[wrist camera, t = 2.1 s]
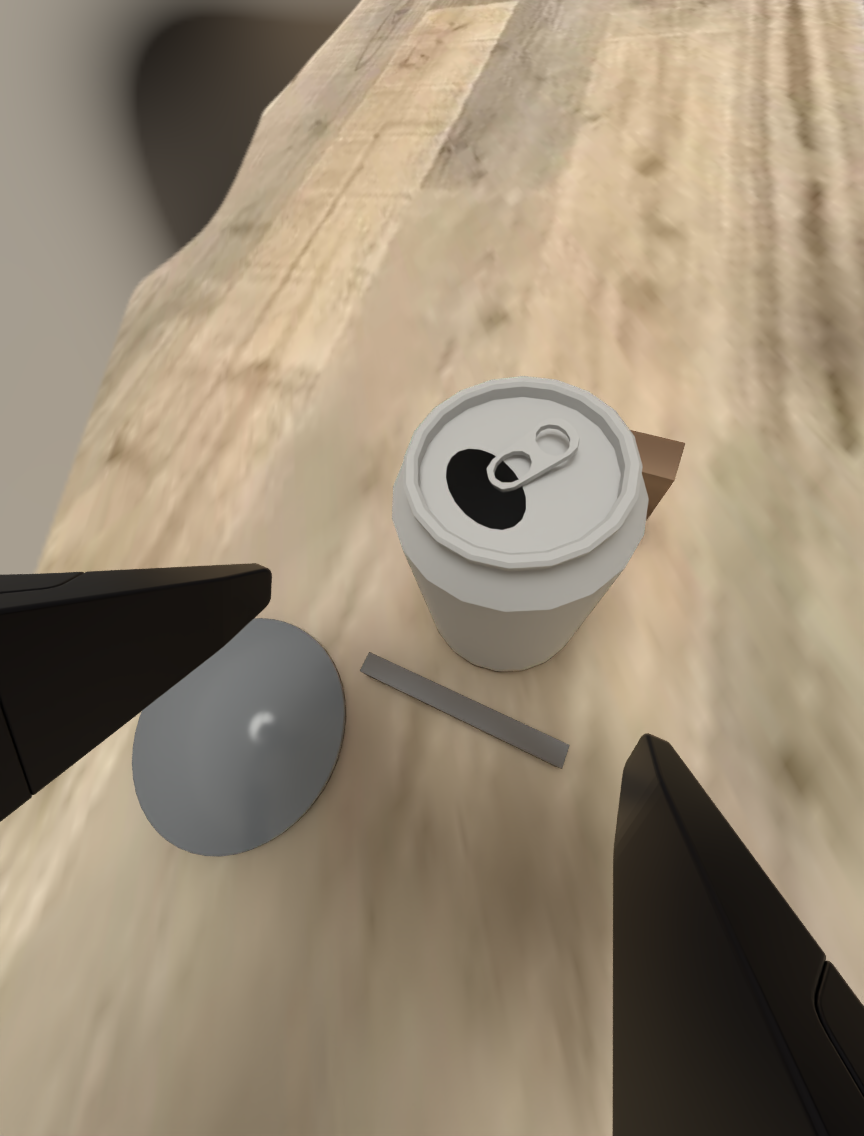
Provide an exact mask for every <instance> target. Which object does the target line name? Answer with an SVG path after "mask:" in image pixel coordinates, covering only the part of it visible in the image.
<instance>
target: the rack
mask: <svg viewBox="0 0 864 1136" xmlns="http://www.w3.org/2000/svg"><path fill="white" fill-rule="evenodd" d="M630 431H631V432H632V433H633V435H634V437H635V440H636V444H637V447H638V451H639V455H640V458H641V462H642V466H643V467H642V476H643V480H644V483H645V487H646V491H647V494H648V498H649V500H648V508H647V516H646V520H647V519H648V517H649V516H650V515H651V513H652V512H653V510H654V509H655V507H656V506H657V505H658V503H659V502H660V500H661V499H662V497H663V496H664V495H665V493H666V492H667V490H668V489H669V487H670V486H671V485H672V483H673V482H674V480H675V477H676V473H677V470H678V466H679V463H680V460H681V456H682V453H683V449H684V446H685V443H683V442H679V441H674V440H670V439H666V438H662V437H657V436H653V435H649V434H645V433H641V432H636V431H632V430H630ZM360 671H361V672H363V673H365V674H366V675H368V676H370V677H372V678H374V679H376V680H379V681H381V682H383V683H385V684H387V685H389V686H391V687H393V688H395V689H397V690H399V691H401V692H403V693H405V694H407V695H409V696H412V697H414V698H416V699H418V700H420V701H422V702H424V703H426V704H428V705H430V706H432V707H434V708H436V709H438V710H440V711H443V712H445V713H447V714H449V715H451V716H453V717H455V718H457V719H459V720H461V721H463V722H465V723H467V724H469V725H471V726H473V727H476V728H478V729H480V730H482V731H484V732H486V733H488V734H490V735H492V736H494V737H496V738H498V739H500V740H502V741H504V742H506V743H509V744H511V745H513V746H515V747H517V748H519V749H521V750H523V751H525V752H527V753H529V754H531V755H533V756H535V757H537V758H539V759H542V760H544V761H546V762H548V763H550V764H552V765H554V766H556V767H558V768H561V769H562V768H563V764H564V761H565V758H566V755H567V752H568V748H569V745H568V744H566V743H564V742H562V741H560V740H557V739H555V738H553V737H551V736H549V735H547V734H545V733H542V732H540V731H538V730H536V729H534V728H532V727H530V726H527V725H525V724H523V723H521V722H519V721H517V720H514V719H512V718H510V717H508V716H506V715H504V714H502V713H499V712H497V711H495V710H493V709H491V708H489V707H487V706H484V705H482V704H480V703H478V702H476V701H474V700H471V699H469V698H467V697H465V696H463V695H461V694H459V693H456V692H454V691H452V690H450V689H448V688H446V687H444V686H441V685H439V684H437V683H435V682H433V681H431V680H429V679H426V678H424V677H422V676H420V675H418V674H416V673H413V672H411V671H409V670H407V669H405V668H403V667H401V666H398V665H396V664H394V663H392V662H390V661H388V660H386V659H383V658H381V657H379V656H377V655H375V654H373V653H370V652H369V654H368V656H367V658H366V660H365V662H364V663H363V665H362V667H361V669H360Z"/></svg>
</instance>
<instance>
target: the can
mask: <svg viewBox="0 0 864 1136" xmlns="http://www.w3.org/2000/svg"><path fill="white" fill-rule="evenodd" d="M642 467H643V466H642V462H641V458H640V455H639V451H638V447H637V444H636V440H635V437H634V435H633V433H632V432H631V431H630V429H629V428H628V427H627V425H626V424H625V423H624V421H623V420H622V419H621V417H620V416H619V415H618V413H617V412H616V411H615V410H614V409H613V408H611V407H610V406H608V405H607V404H606V403H604V402H603V401H601V400H600V399H599V398H597V397H596V396H594V395H593V394H592V393H590V392H589V391H586V390H583V389H580V388H578V387H575V386H572V385H570V384H567V383H564V382H561V381H559V380H554V379H545V378H537V377H528V376H520V377H511V378H502V379H494V380H489V381H486V382H483V383H481V384H478V385H475V386H472V387H469V388H467V389H464V390H461V391H459V392H457V393H456V394H454V395H453V396H451V397H450V398H448V399H447V400H445V401H444V402H442V403H441V404H439V405H438V406H436V407H435V408H434V409H433V410H432V411H431V412H430V413H429V414H428V416H427V417H426V418H425V419H424V420H423V422H422V423H421V424H420V425H419V426H418V427H417V429H416V430H415V431H414V433H413V436H412V438H411V441H410V443H409V446H408V448H407V451H406V453H405V456H404V461H403V463H402V466H401V468H400V471H399V473H398V476H397V478H396V481H395V483H394V486H393V508H392V520H393V523H394V525H395V528H396V531H397V534H398V537H399V540H400V543H401V546H402V549H403V551H404V554H405V556H406V558H407V560H408V563H409V565H410V567H411V570H412V572H413V574H414V576H415V579H416V581H417V583H418V586H419V588H420V590H421V592H422V595H423V597H424V599H425V602H426V604H427V606H428V608H429V611H430V613H431V615H432V618H433V620H434V622H435V624H436V627H437V629H438V631H439V633H440V634H441V636H442V637H443V638H444V640H445V641H446V642H447V643H448V645H449V646H450V647H451V649H452V650H453V651H454V652H456V653H457V654H459V655H460V656H462V657H463V658H465V659H466V660H468V661H469V662H471V663H472V664H474V665H477V666H480V667H484V668H487V669H491V670H494V671H523V670H525V669H528V668H531V667H534V666H536V665H539V664H542V663H544V662H546V661H548V660H549V659H550V658H551V657H552V656H554V655H555V654H556V653H557V652H558V651H560V650H561V649H562V648H563V647H564V646H565V645H566V644H567V642H568V641H569V640H570V639H571V637H572V636H573V635H574V633H575V632H576V631H577V629H578V628H579V627H580V626H581V624H582V623H583V622H584V620H585V619H586V618H587V616H588V615H589V614H590V613H591V611H592V610H593V609H594V607H595V606H596V605H597V603H598V602H599V601H600V599H601V598H602V597H603V596H604V594H605V593H606V592H607V590H608V589H609V588H610V586H611V585H612V584H613V583H614V581H615V580H616V579H617V577H618V576H619V575H620V573H621V572H622V571H623V570H624V568H625V567H626V565H627V563H628V561H629V560H630V558H631V556H632V554H633V553H634V551H635V549H636V548H637V546H638V544H639V542H640V541H641V539H642V537H643V535H644V531H645V523H646V516H647V508H648V500H649V498H648V494H647V491H646V487H645V483H644V480H643V476H642Z"/></svg>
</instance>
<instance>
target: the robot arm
mask: <svg viewBox="0 0 864 1136" xmlns="http://www.w3.org/2000/svg"><path fill="white" fill-rule="evenodd" d="M271 583H272V573H271V571H270V570H269V569H268V568H266V567H264V566H261V565H259V564H256V563H252V564H232V565H212V566H191V567H171V568H151V569H131V570H110V571H90V572H85V573H84V572H69V573H45V574H17V575H15V574H13V575H0V822H1V821H2V820H3V819H5V818H6V817H7V816H8V815H10V814H11V813H12V812H14V811H15V810H16V809H17V808H19V807H20V806H21V805H23V804H24V803H25V802H26V801H28V800H29V799H30V798H31V797H32V795H35V794H36V793H37V792H39V791H40V790H41V789H42V788H44V787H45V786H46V785H48V784H49V783H50V782H51V781H53V780H54V779H55V778H57V777H58V776H59V775H60V774H62V773H63V772H64V771H66V770H67V769H68V768H69V767H71V766H72V765H73V764H75V763H76V762H77V761H78V760H80V759H81V758H82V757H83V756H85V755H86V754H87V753H89V752H90V751H91V750H92V749H94V748H95V747H96V746H98V745H99V744H100V743H101V742H103V741H104V740H105V739H107V738H108V737H109V736H110V735H112V734H113V733H114V732H115V731H117V730H118V729H119V728H121V727H122V726H123V725H124V724H126V723H127V722H128V721H130V720H131V719H132V718H133V717H135V716H136V715H137V714H139V713H140V712H141V711H142V710H144V709H145V708H146V707H147V706H149V705H150V704H151V703H153V702H154V701H155V700H156V699H158V698H159V697H160V696H162V695H163V694H164V693H165V692H167V691H168V690H169V689H171V688H172V687H173V686H174V685H176V684H177V683H178V682H180V681H181V680H182V679H183V678H185V677H186V676H187V675H188V674H190V673H191V672H192V671H194V670H195V669H196V668H197V667H199V666H200V665H201V664H203V663H204V662H205V661H206V660H208V659H209V658H210V657H212V656H213V655H214V654H215V653H217V652H218V651H219V650H220V649H221V648H223V647H224V646H225V645H226V644H227V643H228V642H229V641H231V640H232V639H233V638H234V637H235V636H236V635H237V634H238V633H239V632H240V631H241V630H242V629H243V628H244V627H245V626H246V625H248V624H249V623H250V622H251V621H252V620H253V619H254V618H255V617H256V616H257V615H258V614H259V613H260V612H261V611H262V610H263V609H265V608H266V606H267V605H268V604H269V602H270V599H271ZM825 960H826V955H825V953H824V952H823V951H822V949H821V948H820V946H819V945H818V944H817V942H816V941H815V940H814V938H813V937H812V936H811V934H810V933H809V932H808V930H807V929H806V927H805V926H804V925H803V923H802V922H801V921H800V919H799V918H798V917H797V915H796V914H795V913H794V911H793V910H792V908H791V907H790V906H789V904H788V903H787V902H786V900H785V899H784V898H783V896H782V895H781V894H780V892H779V891H778V889H777V888H776V887H775V885H774V884H773V883H772V881H771V880H770V879H769V877H768V876H767V875H766V873H765V872H764V870H763V869H762V868H761V866H760V865H759V864H758V862H757V861H756V860H755V858H754V857H753V856H752V854H751V853H750V851H749V850H748V849H747V847H746V846H745V845H744V843H743V842H742V841H741V839H740V838H739V837H738V835H737V834H736V832H735V831H734V830H733V828H732V827H731V826H730V824H729V823H728V822H727V820H726V819H725V818H724V816H723V815H722V813H721V812H720V811H719V809H718V808H717V807H716V805H715V804H714V803H713V801H712V800H711V798H710V797H709V796H708V794H707V793H706V792H705V790H704V789H703V788H702V786H701V785H700V784H699V782H698V781H697V779H696V778H695V777H694V775H693V774H692V773H691V771H690V770H689V769H688V767H687V766H686V765H685V763H684V762H683V760H682V759H681V758H680V756H679V755H678V754H677V752H676V751H675V750H674V748H673V747H672V746H671V744H670V743H669V742H667V741H665V740H663V739H661V738H658V737H656V736H654V735H651V734H649V733H647V734H644V735H643V736H642V737H641V738H640V740H639V741H638V743H637V745H636V746H635V748H634V750H633V751H632V753H631V755H630V756H629V758H628V760H627V762H626V764H625V767H624V770H623V776H622V784H621V792H620V800H619V808H618V817H617V825H616V833H615V842H614V856H613V1136H864V1006H863V1004H862V1003H861V1002H860V1000H859V999H858V998H857V996H856V995H855V994H854V992H853V991H852V990H851V988H850V987H849V986H848V984H847V983H846V981H845V980H844V979H843V977H842V976H841V975H840V973H839V972H838V971H837V969H836V968H835V967H834V965H833V964H832V963H831V962H829V961H825Z"/></svg>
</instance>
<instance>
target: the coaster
mask: <svg viewBox="0 0 864 1136" xmlns="http://www.w3.org/2000/svg"><path fill="white" fill-rule="evenodd" d="M345 717H346V713H345V698H344V692H343V686H342V683H341V680H340V676H339V673H338V671H337V669H336V667H335V665H334V663H333V661H332V659H331V658H330V656H329V655H328V653H327V652H326V650H325V649H324V648H323V647H322V646H321V645H320V644H319V642H317V641H316V640H315V639H314V638H313V637H311V636H310V635H309V634H307V633H306V632H304V631H302V630H301V629H299V628H297V627H296V626H293V625H291V624H288V623H286V622H282V621H278V620H274V619H264V618H257V619H253V620H252V621H251V622H250V623H249V624H248V625H246V626H245V627H244V628H243V629H242V630H241V631H240V632H239V633H238V634H237V635H236V636H235V637H234V638H233V639H232V640H231V641H229V642H228V643H227V644H226V645H225V646H224V647H223V648H221V649H220V650H219V651H218V652H217V653H215V654H214V655H213V656H212V657H210V658H209V659H208V660H206V661H205V662H204V663H203V664H201V665H200V666H199V667H197V668H196V669H195V670H194V671H192V672H191V673H190V674H188V675H187V676H186V677H185V678H183V679H182V680H181V681H180V682H178V683H177V684H176V685H174V686H173V687H172V688H171V689H169V690H168V691H167V692H165V693H164V694H163V695H162V696H160V697H159V698H158V699H156V700H155V701H154V702H153V703H151V704H150V705H149V706H147V707H146V708H145V709H144V710H142V712H141V715H140V718H139V721H138V725H137V728H136V732H135V738H134V744H133V754H132V770H133V780H134V785H135V790H136V794H137V797H138V800H139V803H140V806H141V808H142V810H143V812H144V814H145V815H146V817H147V819H148V821H149V822H150V823H151V825H152V826H153V827H154V828H155V830H156V831H157V832H158V833H159V834H160V835H161V836H162V837H164V838H165V839H166V840H167V841H169V842H170V843H172V844H173V845H175V846H176V847H178V848H180V849H183V850H185V851H188V852H190V853H194V854H199V855H204V856H226V855H234V854H238V853H241V852H245V851H248V850H251V849H254V848H256V847H258V846H260V845H262V844H265V843H267V842H269V841H271V840H273V839H274V838H276V837H277V836H279V835H280V834H282V833H284V832H285V831H286V830H287V829H289V828H290V827H291V826H292V825H293V824H295V823H296V822H297V821H298V820H299V819H300V818H301V817H302V816H303V815H304V814H305V813H306V812H307V811H308V810H309V809H310V807H311V806H312V805H313V803H314V802H315V801H316V799H317V798H318V797H319V795H320V794H321V792H322V791H323V789H324V787H325V785H326V784H327V782H328V780H329V778H330V776H331V774H332V772H333V769H334V767H335V765H336V762H337V759H338V756H339V753H340V750H341V746H342V741H343V736H344V730H345Z"/></svg>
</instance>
